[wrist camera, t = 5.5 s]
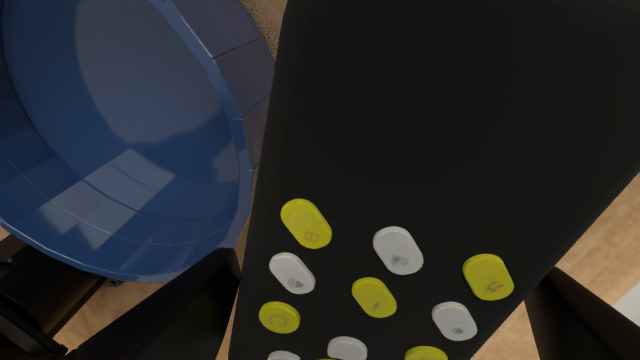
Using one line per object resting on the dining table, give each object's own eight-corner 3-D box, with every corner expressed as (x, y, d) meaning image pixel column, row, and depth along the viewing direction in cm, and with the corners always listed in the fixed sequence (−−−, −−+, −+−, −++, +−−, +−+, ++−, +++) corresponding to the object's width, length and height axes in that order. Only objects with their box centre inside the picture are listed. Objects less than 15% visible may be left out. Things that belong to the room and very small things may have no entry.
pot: (301, 227, 21) (278, 294, 17) (84, 216, 25) (14, 271, 20) (257, -106, 13) (186, -155, 8) (-67, -58, 16) (-250, -74, 11)
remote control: (683, 13, 5) (825, 26, 4) (399, 388, 12) (403, 454, 10) (318, -92, 5) (290, -127, 4) (238, 340, 12) (215, 398, 10)
